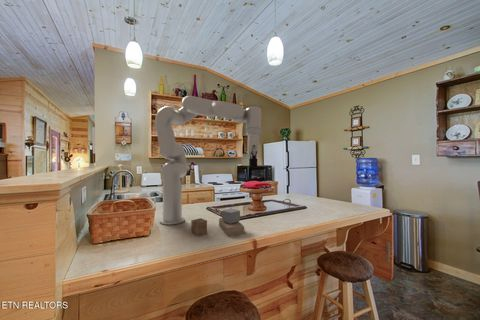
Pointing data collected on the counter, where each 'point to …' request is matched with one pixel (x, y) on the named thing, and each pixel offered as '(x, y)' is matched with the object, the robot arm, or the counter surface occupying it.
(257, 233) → the counter surface
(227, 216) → the slate block
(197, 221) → the walnut block
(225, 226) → the brick
